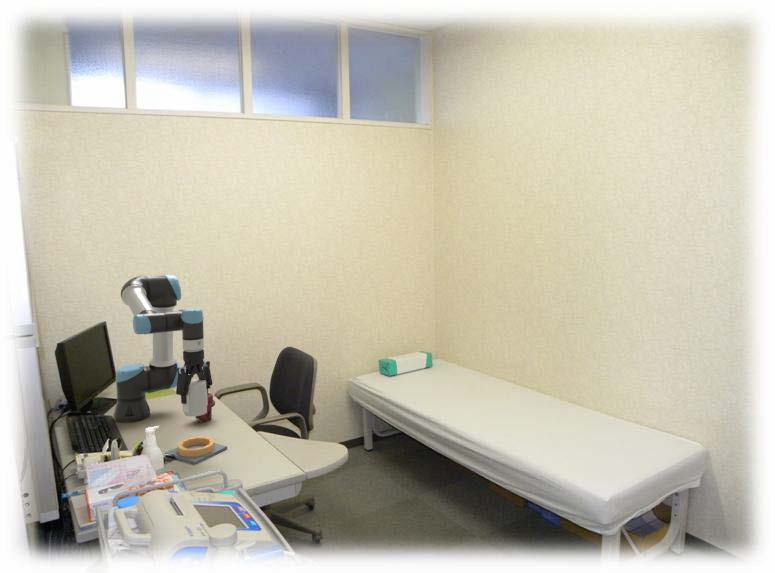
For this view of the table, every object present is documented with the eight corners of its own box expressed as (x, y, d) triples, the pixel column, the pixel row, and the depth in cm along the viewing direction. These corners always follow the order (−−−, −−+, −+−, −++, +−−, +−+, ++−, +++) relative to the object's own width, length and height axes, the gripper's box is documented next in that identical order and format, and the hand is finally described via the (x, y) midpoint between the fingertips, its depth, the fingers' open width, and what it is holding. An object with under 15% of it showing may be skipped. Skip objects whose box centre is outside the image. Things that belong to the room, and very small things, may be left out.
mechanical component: (219, 417, 246) (208, 424, 237) (199, 415, 248) (187, 423, 239) (218, 390, 245) (207, 397, 235) (198, 389, 247) (186, 395, 237)
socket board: (164, 455, 205) (164, 446, 205) (197, 440, 219) (197, 432, 219) (194, 464, 198) (194, 455, 197) (227, 448, 212) (226, 440, 211)
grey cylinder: (199, 407, 213) (198, 377, 211) (211, 412, 207) (210, 381, 206) (180, 413, 206) (178, 382, 205) (191, 418, 201) (190, 386, 200)
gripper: (177, 356, 193) (180, 418, 196) (221, 345, 212) (223, 402, 214) (163, 354, 197) (165, 414, 199) (207, 343, 215) (209, 399, 218)
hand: (195, 408), depth 207 cm, fingers closed on grey cylinder, 8 cm apart
